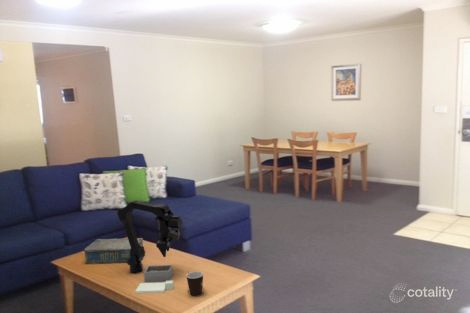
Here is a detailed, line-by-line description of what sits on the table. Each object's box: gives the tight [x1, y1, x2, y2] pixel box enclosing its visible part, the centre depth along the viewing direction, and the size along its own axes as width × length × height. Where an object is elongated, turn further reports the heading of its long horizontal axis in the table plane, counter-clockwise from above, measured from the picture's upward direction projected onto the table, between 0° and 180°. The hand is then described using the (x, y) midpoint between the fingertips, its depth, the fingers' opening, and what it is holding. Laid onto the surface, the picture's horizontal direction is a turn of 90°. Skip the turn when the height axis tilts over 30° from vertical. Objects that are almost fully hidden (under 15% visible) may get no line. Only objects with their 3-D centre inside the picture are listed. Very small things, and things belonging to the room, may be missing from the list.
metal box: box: [83, 237, 144, 265], centre depth 276 cm, size 21×32×10 cm, turn 86°
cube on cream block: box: [135, 280, 175, 294], centre depth 225 cm, size 19×10×4 cm, turn 87°
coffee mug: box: [186, 270, 204, 297], centre depth 219 cm, size 12×9×10 cm
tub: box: [143, 264, 174, 283], centre depth 238 cm, size 14×9×6 cm, turn 87°
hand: (166, 253), depth 241 cm, fingers open, 9 cm apart
